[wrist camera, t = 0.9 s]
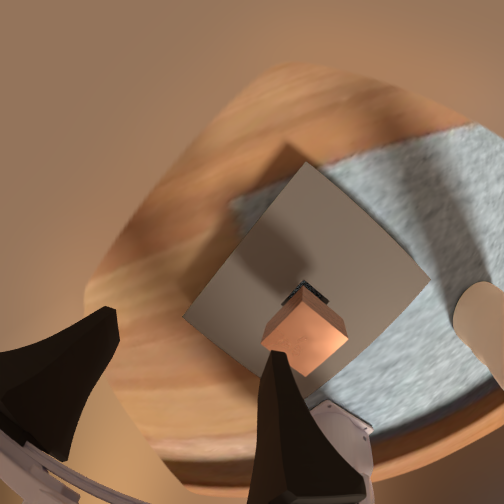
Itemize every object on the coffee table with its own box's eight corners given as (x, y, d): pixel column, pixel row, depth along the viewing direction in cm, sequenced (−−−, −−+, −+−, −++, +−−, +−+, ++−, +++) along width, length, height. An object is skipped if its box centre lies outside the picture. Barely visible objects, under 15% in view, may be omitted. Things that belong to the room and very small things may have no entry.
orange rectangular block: (338, 302, 22) (348, 339, 16) (306, 334, 23) (305, 376, 17) (303, 272, 22) (302, 301, 16) (271, 306, 23) (260, 343, 17)
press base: (419, 271, 23) (430, 279, 20) (299, 387, 28) (298, 403, 25) (305, 165, 23) (305, 161, 21) (192, 306, 28) (182, 316, 25)
